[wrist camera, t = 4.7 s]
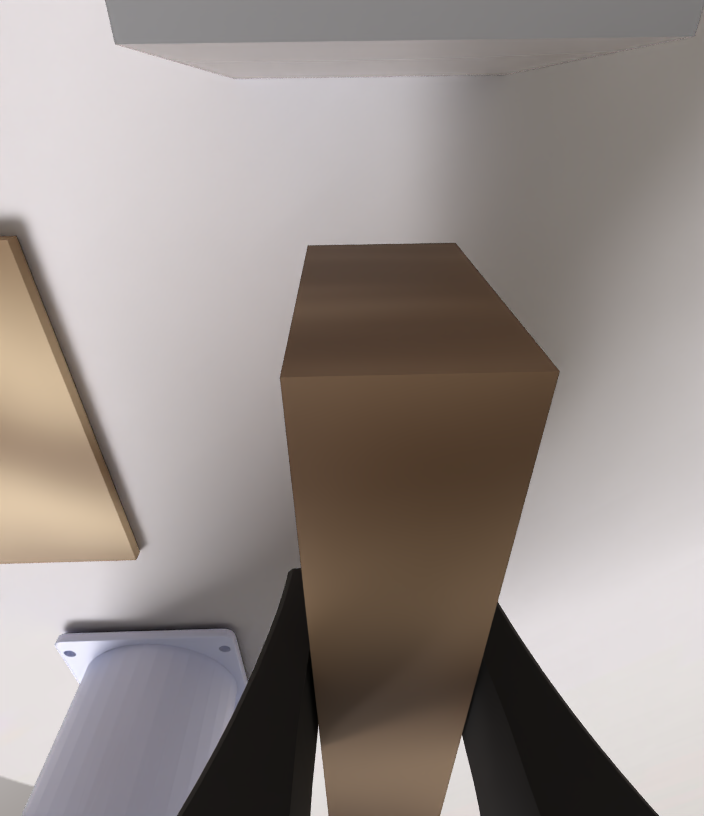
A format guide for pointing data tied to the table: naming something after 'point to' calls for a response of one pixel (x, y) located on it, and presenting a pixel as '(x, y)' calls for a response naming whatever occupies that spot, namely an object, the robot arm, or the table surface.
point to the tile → (392, 34)
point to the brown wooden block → (404, 502)
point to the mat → (48, 441)
